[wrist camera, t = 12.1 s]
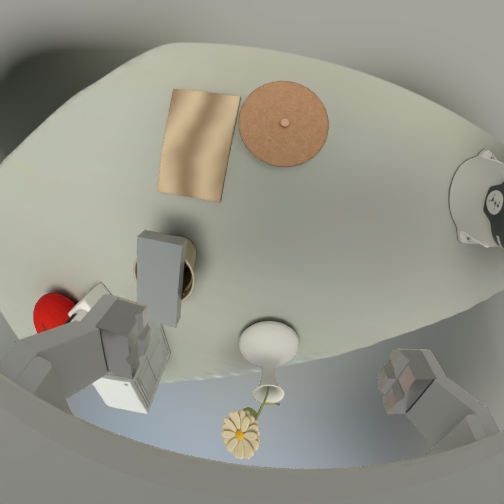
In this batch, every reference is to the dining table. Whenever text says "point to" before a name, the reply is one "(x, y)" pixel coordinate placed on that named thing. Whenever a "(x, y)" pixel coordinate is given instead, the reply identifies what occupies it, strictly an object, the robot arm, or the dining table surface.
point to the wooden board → (197, 144)
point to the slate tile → (161, 275)
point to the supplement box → (138, 377)
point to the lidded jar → (283, 123)
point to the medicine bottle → (87, 303)
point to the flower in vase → (268, 357)
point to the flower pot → (188, 270)
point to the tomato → (51, 311)
